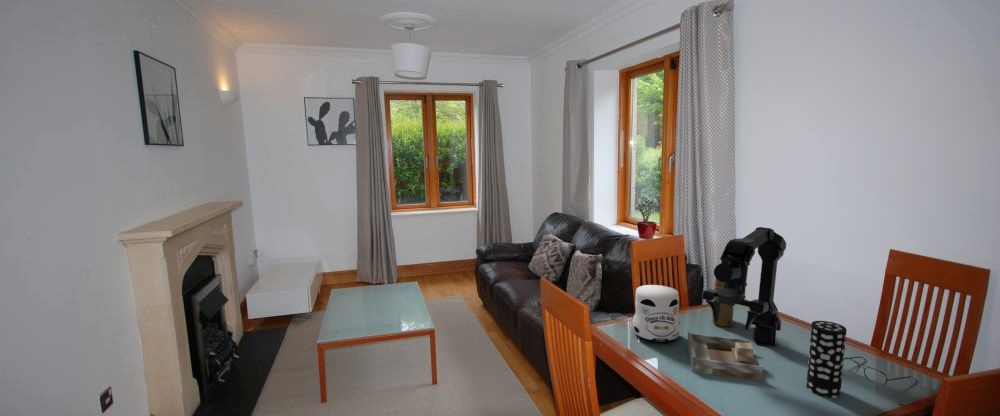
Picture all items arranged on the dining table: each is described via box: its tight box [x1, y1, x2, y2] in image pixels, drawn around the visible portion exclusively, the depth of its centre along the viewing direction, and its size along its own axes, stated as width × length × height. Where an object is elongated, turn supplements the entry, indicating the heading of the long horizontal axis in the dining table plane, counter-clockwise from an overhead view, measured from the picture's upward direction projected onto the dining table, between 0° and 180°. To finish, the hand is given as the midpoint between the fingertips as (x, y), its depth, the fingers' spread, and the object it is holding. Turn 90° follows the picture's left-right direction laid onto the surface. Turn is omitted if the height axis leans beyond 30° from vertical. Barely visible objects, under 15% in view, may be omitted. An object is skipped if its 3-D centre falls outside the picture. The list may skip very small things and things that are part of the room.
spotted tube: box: [805, 320, 847, 399], centre depth 133 cm, size 8×8×20 cm
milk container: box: [632, 284, 681, 343], centre depth 173 cm, size 17×17×18 cm
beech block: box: [735, 342, 754, 362], centre depth 151 cm, size 4×4×4 cm
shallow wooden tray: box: [687, 331, 763, 381], centre depth 153 cm, size 20×20×5 cm
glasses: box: [844, 356, 912, 385], centre depth 144 cm, size 14×15×5 cm
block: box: [711, 278, 734, 327], centre depth 184 cm, size 11×8×20 cm
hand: (731, 326), depth 147 cm, fingers open, 9 cm apart
